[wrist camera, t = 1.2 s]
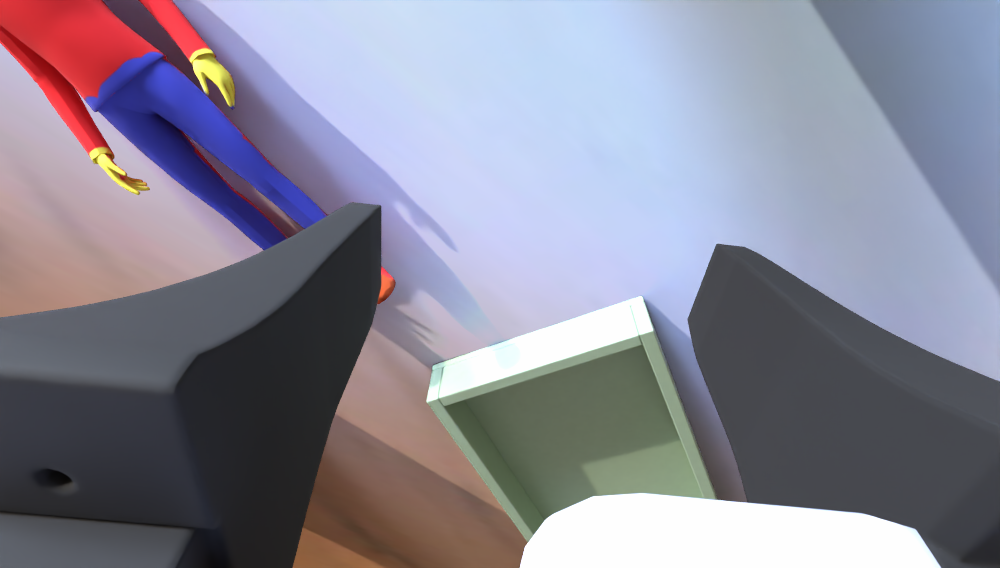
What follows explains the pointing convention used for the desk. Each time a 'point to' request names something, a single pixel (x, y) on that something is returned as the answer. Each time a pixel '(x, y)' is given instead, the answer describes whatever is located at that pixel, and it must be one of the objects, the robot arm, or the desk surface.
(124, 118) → the character figure
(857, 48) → the desk surface
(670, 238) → the desk surface
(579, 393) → the tray
